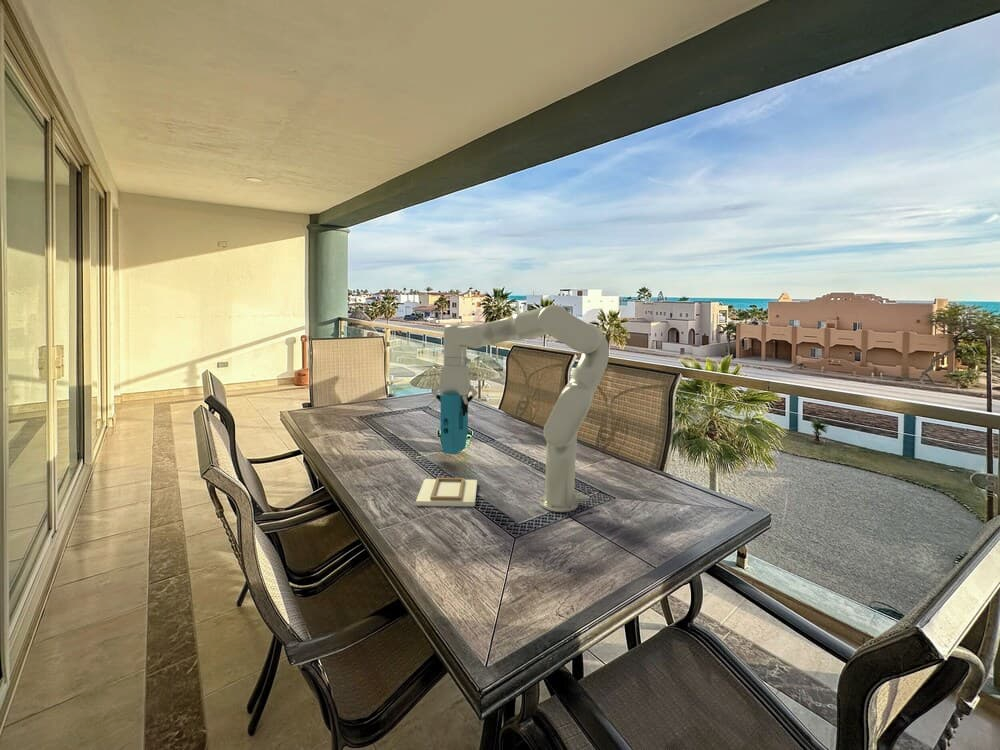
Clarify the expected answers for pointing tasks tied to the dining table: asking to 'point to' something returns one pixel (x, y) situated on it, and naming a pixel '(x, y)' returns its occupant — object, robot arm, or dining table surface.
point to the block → (453, 423)
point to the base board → (447, 492)
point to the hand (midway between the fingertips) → (454, 414)
